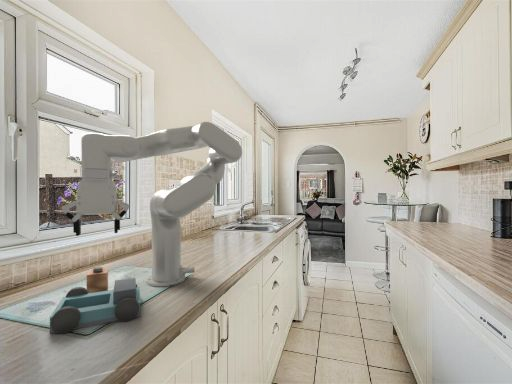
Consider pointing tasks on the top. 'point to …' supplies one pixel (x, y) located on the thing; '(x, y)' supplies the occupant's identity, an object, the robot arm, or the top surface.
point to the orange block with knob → (97, 280)
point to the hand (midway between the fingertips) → (97, 233)
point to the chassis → (96, 307)
